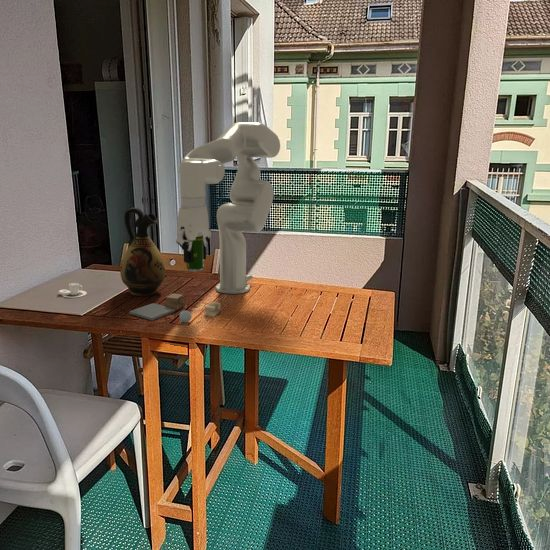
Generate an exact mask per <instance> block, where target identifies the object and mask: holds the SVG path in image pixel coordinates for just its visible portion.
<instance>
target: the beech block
mask: <svg viewBox="0 0 550 550" xmlns="http://www.w3.org/2000/svg"><path fill="white" fill-rule="evenodd" d="M220 312H221V302H215V301H210V303H208V304H207V305H205V306H204V313H205V316H209V317H215V316H217V315H218V314H219V313H220Z"/></svg>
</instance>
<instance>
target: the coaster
mask: <svg viewBox="0 0 550 550" xmlns="http://www.w3.org/2000/svg"><path fill="white" fill-rule="evenodd" d="M175 312H176V310H175V309H173V308H169V307H167V305H166V306H165V305H162V304H158V303H153V302H152V303H150V304H146V305H143V306H141V307H138V308H135V309H132V310H129V311H128V314H129V315H132V316H137V317H139V318H143V319H146V320H149V321H154V320H158V319H159V318H162V317H164V316H168V315H170V314H173V313H175Z"/></svg>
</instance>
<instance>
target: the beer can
mask: <svg viewBox="0 0 550 550" xmlns="http://www.w3.org/2000/svg"><path fill="white" fill-rule="evenodd" d="M201 233H202V232H201ZM201 233H198V235H197V236H196V240H194V241H193V242H192V247H191V251H193V263H191V264H190V263H186V269H187V270H188V271H189V272H201V271H203V270H204V268H205V259H204V248H203V234H201ZM186 239H187V238H186ZM187 245H188V242H187Z"/></svg>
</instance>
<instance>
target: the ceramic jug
mask: <svg viewBox="0 0 550 550" xmlns="http://www.w3.org/2000/svg"><path fill="white" fill-rule="evenodd" d="M132 215H137V217H138V218H137V219H136V220H134V223H133V225H134V227H135V228H137V230H136V233H135V232H134V228H133V225H132V221H131V216H132ZM123 218H124V225H125V227H126V232H127V234H128V236H129V240H128V244H127V249H126V251H125V253H124V254H123V256H122V259H121V263H120V272H119V273H120V278H121V281H122V283H123V284H124V285H125V286H126V288H128V289H129V290H128V291H129V292H128V293H130V294H131V295H132V296H137V297H146V296H153V295H156V294H157V292H158V291H157V290H158V288H160V285H162V284H163V281H164V280H165V276H166V266H165V263H164V259H163V256H162V253H161V252H160V250H159V248H158V247H157V246H156V244H155V242H154V241H153V240H152V238H151V237H150V235H149V233H148V229H149V227H152V226H153V225H158V224H159V223H160V222H159V219H158V218H157V216H156V215H155V214H153V213H149V214H148V213H145V214H144V212H143V211H142V209H140V208H137V207H134V206H133V207H131V208H128V209H127V210H126V211H125V213H124V216H123Z"/></svg>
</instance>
